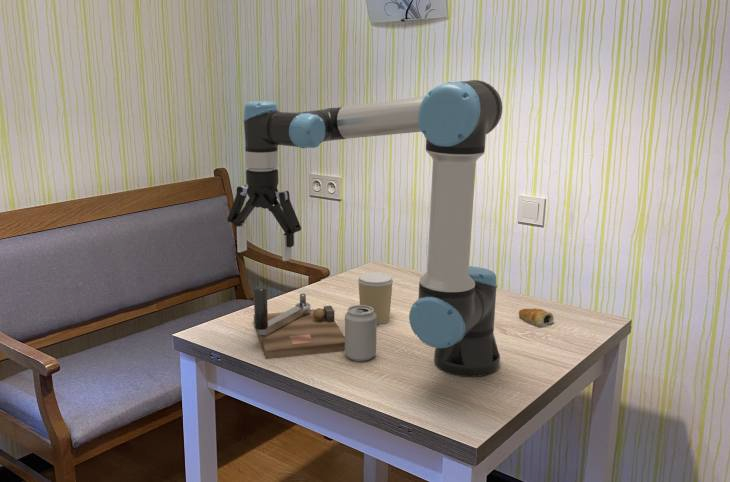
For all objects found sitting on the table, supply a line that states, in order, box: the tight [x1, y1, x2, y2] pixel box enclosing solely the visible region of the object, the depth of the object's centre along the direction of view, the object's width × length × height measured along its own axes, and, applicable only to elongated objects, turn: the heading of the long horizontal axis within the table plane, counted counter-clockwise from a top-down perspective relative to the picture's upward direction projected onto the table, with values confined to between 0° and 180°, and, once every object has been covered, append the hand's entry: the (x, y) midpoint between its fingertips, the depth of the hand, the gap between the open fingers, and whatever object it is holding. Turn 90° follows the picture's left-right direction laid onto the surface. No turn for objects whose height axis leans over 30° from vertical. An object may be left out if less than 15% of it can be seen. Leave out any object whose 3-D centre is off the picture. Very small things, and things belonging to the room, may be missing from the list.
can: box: [344, 304, 377, 362], centre depth 168 cm, size 8×8×12 cm
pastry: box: [518, 308, 555, 328], centre depth 192 cm, size 9×7×4 cm
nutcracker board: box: [253, 305, 345, 360], centre depth 181 cm, size 24×20×5 cm
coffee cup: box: [357, 271, 394, 325], centre depth 191 cm, size 9×9×12 cm
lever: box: [253, 286, 312, 336], centre depth 182 cm, size 22×4×12 cm, turn 150°
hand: (264, 255), depth 172 cm, fingers open, 13 cm apart
